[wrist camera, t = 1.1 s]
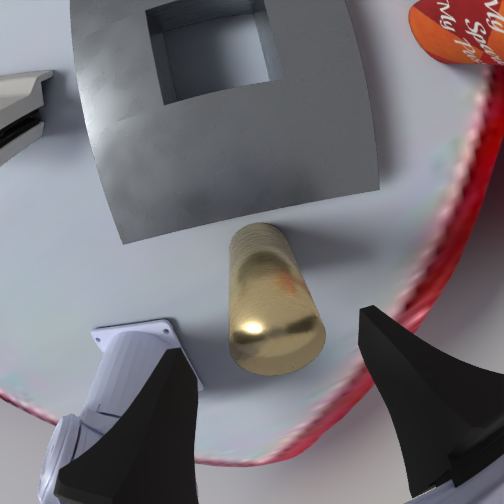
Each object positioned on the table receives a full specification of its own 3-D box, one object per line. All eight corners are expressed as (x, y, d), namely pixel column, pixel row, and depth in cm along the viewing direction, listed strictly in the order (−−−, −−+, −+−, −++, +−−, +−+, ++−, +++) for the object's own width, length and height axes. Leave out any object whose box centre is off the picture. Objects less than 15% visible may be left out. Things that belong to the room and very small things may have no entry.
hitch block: (351, 175, 17) (379, 189, 13) (143, 219, 17) (123, 244, 14) (294, -54, 9) (308, -82, 6) (95, -9, 10) (70, -29, 6)
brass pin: (291, 269, 20) (326, 364, 12) (236, 281, 20) (241, 382, 12) (283, 217, 18) (323, 296, 10) (223, 230, 18) (217, 319, 10)
